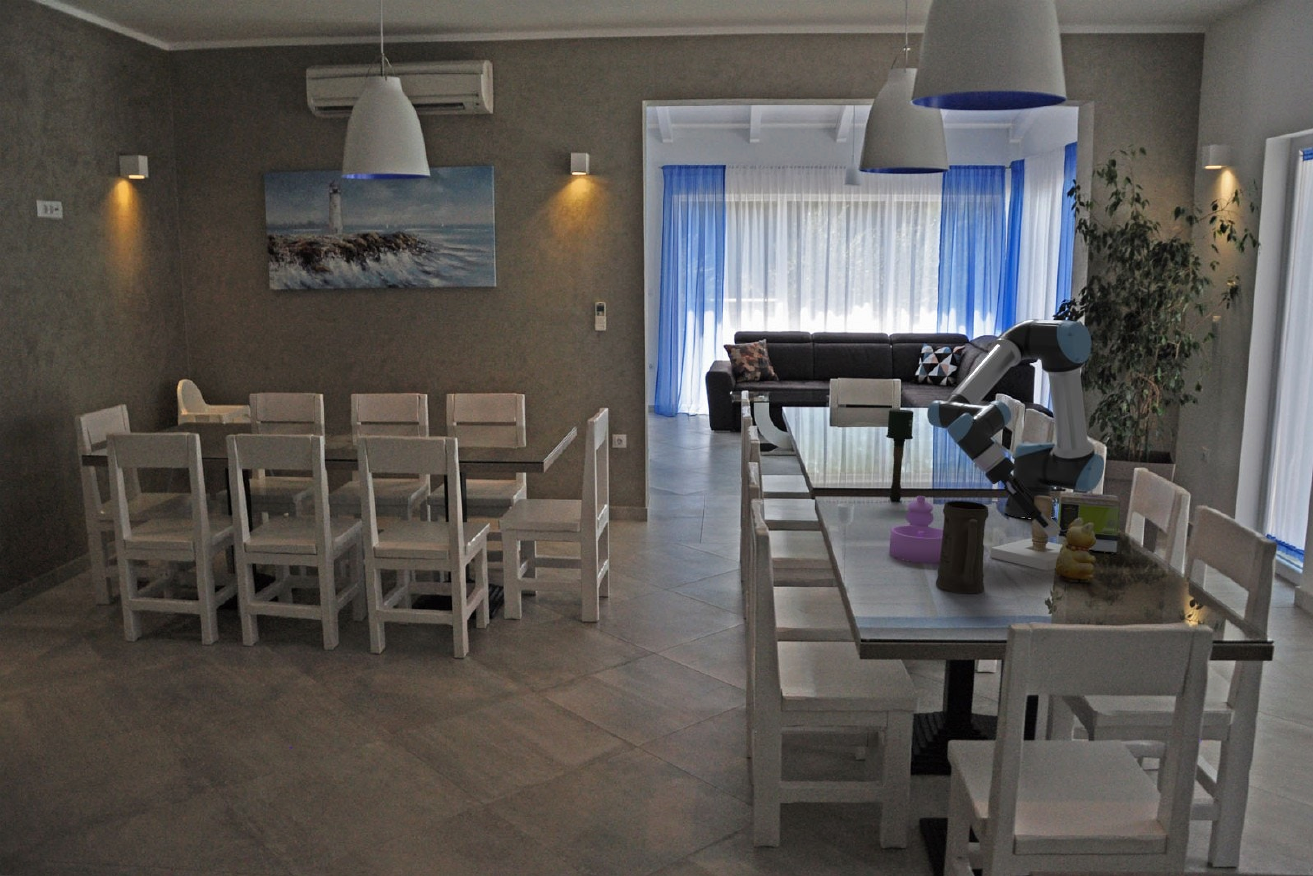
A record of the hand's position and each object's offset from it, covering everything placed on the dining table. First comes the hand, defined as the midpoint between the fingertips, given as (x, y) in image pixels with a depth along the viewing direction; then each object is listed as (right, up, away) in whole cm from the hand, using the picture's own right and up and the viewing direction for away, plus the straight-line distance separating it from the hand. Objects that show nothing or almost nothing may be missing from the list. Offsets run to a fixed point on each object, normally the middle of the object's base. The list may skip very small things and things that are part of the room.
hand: (1056, 534), depth 265 cm
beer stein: (-33, -10, -30) cm, 46 cm away
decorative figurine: (-3, -10, -18) cm, 21 cm away
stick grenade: (-24, +4, +75) cm, 79 cm away
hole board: (-4, -7, +3) cm, 8 cm away
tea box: (+14, -6, +17) cm, 23 cm away
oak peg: (-4, -4, +2) cm, 6 cm away
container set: (-34, -5, +6) cm, 35 cm away
